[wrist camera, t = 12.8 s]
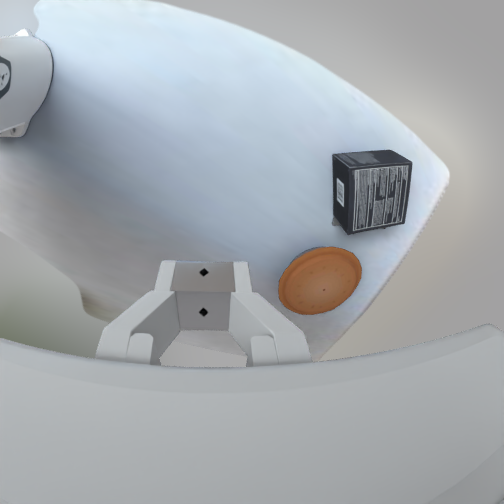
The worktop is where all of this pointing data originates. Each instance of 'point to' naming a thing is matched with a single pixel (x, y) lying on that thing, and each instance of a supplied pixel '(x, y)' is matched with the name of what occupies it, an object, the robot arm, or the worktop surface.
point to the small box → (370, 189)
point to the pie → (319, 280)
